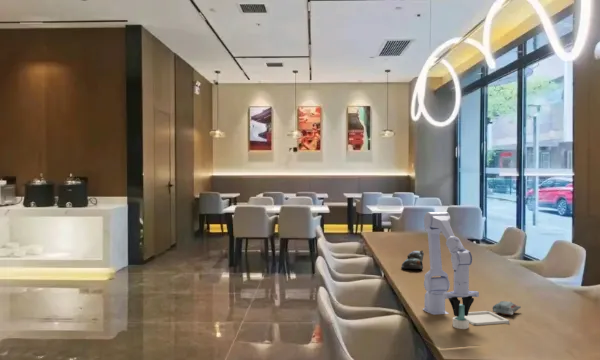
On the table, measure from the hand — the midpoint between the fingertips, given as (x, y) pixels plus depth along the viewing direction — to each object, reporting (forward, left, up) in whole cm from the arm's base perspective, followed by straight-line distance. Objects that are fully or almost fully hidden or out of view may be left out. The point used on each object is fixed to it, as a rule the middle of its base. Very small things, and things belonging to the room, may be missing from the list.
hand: (460, 315), depth 196 cm
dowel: (0, 0, -4) cm, 4 cm away
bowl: (0, 0, -5) cm, 5 cm away
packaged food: (-13, +31, -5) cm, 34 cm away
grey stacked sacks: (-110, +33, -5) cm, 115 cm away
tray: (-7, +14, -5) cm, 16 cm away
